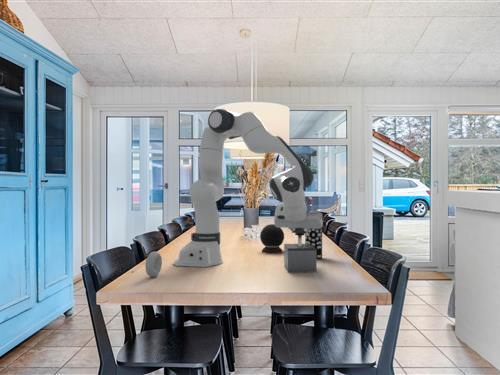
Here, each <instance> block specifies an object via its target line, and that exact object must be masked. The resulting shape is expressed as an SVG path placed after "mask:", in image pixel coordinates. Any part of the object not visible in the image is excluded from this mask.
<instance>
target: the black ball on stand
mask: <svg viewBox="0 0 500 375" xmlns="http://www.w3.org/2000/svg"><path fill="white" fill-rule="evenodd" d="M259 237H260V238H259V239H260V241H261V243H262V245H263V246H264V247H263V248H262V249H261V252H262V253H264V254H281V253H282V254H283V249H282V248H281V247H280V246H281V245H282V244H283V242H284V239H285V234H284V230H283V229H282V227H276V226H275V224H274V223H272V224H271V223H270V224H267V225H265V226H264V227H263V228H262V229H261V231H260V235H259Z"/></svg>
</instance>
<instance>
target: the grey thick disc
mask: <svg viewBox="0 0 500 375" xmlns="http://www.w3.org/2000/svg"><path fill="white" fill-rule="evenodd" d="M144 266H145V268H144V269H145V272H146V274H147V276H148V277H150V278H156V277H157V276H158V275H159V274H160V272H161V271H162V270H161V269H162V266H163V259H162V256H161V254H160V253H159V252H158V251H151V252H150V253H149V254H148V255H147V258H146V260H145V265H144Z"/></svg>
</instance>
